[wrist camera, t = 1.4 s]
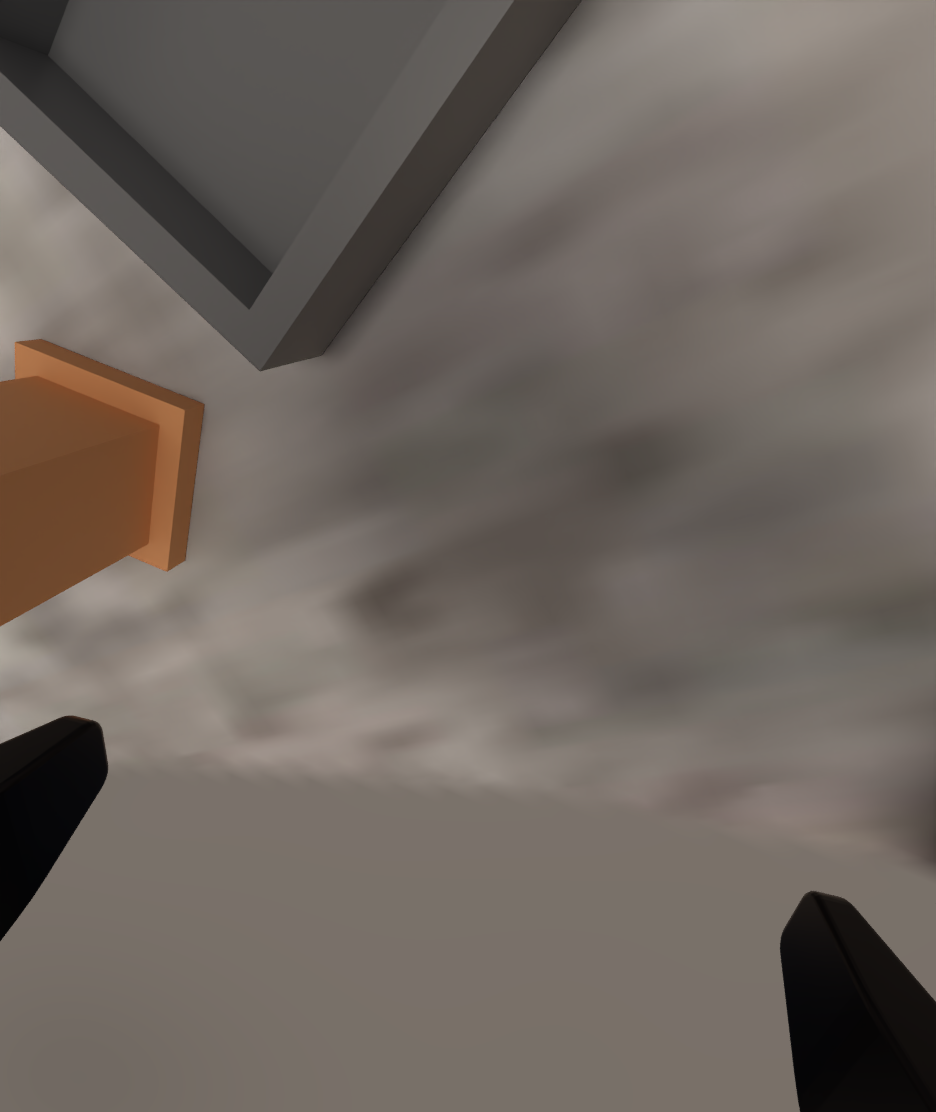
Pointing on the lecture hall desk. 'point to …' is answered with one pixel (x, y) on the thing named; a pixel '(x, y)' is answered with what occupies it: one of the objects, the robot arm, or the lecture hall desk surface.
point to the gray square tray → (263, 136)
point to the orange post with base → (88, 473)
